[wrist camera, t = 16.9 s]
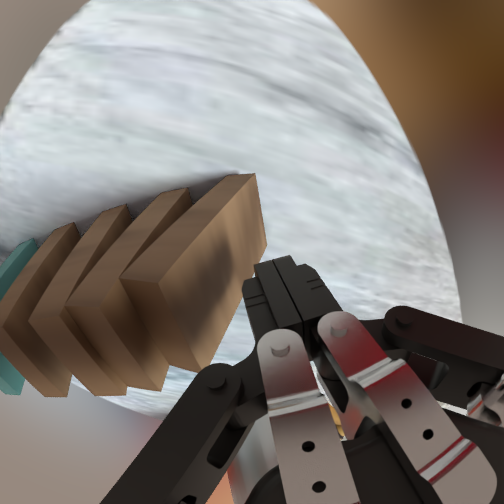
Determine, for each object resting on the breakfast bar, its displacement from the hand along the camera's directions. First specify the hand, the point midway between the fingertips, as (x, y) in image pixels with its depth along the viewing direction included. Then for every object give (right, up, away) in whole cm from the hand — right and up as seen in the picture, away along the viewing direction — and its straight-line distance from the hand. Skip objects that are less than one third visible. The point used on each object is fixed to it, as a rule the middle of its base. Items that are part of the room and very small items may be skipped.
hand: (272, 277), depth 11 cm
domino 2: (-9, +2, +6) cm, 11 cm away
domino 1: (-13, +1, +5) cm, 14 cm away
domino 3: (-5, +3, +6) cm, 8 cm away
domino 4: (-1, +4, +6) cm, 7 cm away
